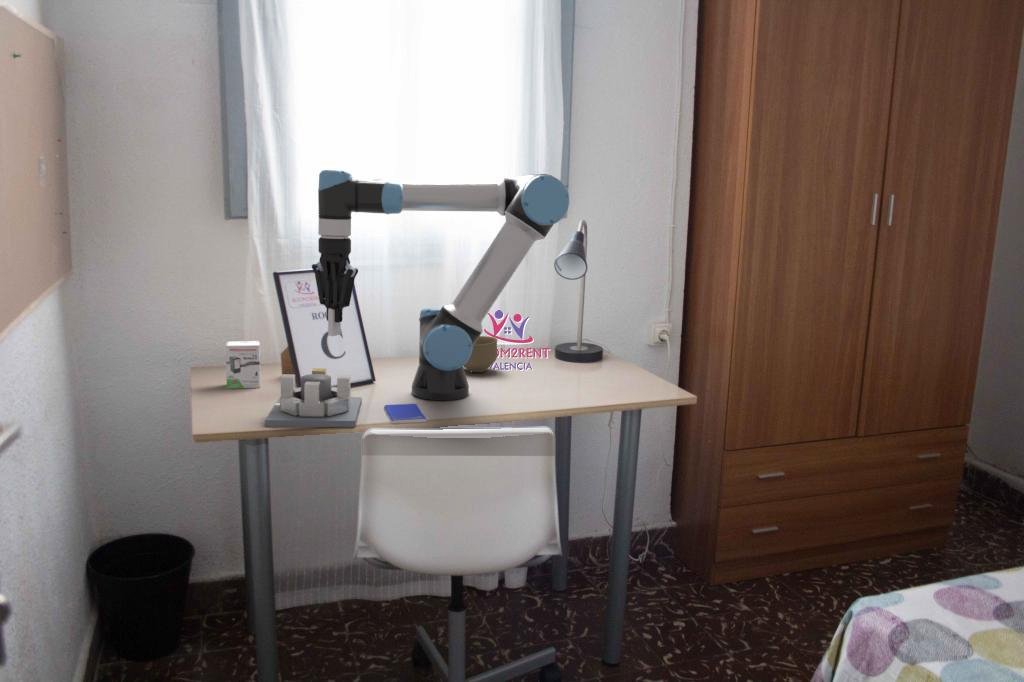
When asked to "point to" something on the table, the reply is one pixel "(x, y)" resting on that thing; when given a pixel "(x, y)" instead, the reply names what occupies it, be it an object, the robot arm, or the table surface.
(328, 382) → the housing
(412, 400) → the table surface
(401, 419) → the hard drive
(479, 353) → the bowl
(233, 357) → the ink box
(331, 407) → the ring nut
